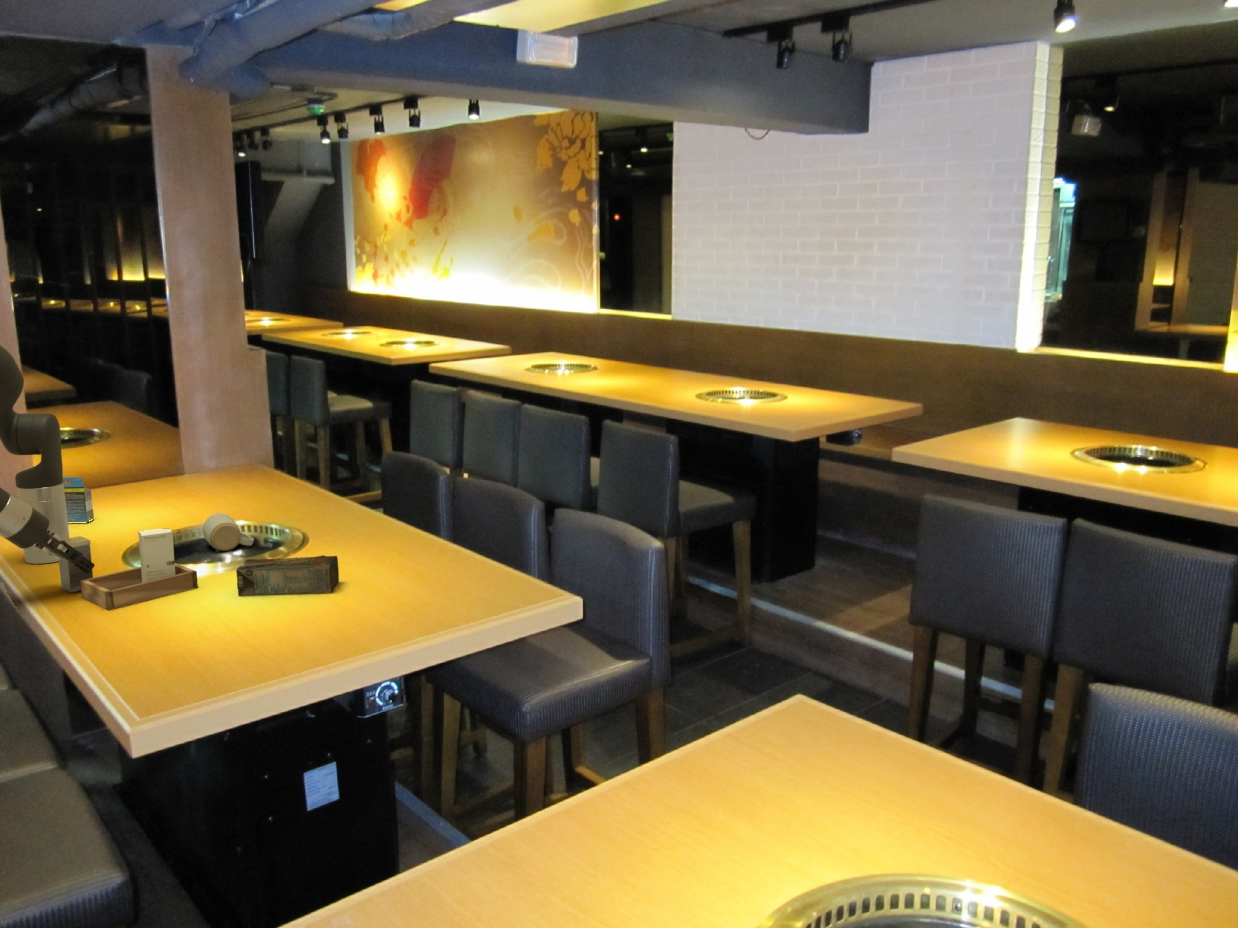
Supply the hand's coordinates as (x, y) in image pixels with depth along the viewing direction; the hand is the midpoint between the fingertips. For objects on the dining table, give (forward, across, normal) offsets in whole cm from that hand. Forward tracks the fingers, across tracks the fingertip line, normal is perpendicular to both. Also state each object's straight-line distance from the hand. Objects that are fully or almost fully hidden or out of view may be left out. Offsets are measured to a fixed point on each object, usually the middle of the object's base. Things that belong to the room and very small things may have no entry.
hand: (85, 566), depth 206 cm
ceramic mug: (+28, +5, -21) cm, 35 cm away
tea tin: (+2, 0, +4) cm, 5 cm away
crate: (+7, -12, -1) cm, 14 cm away
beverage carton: (+22, -33, -15) cm, 43 cm away
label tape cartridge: (+18, +58, -12) cm, 62 cm away
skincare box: (+10, -12, -3) cm, 16 cm away
